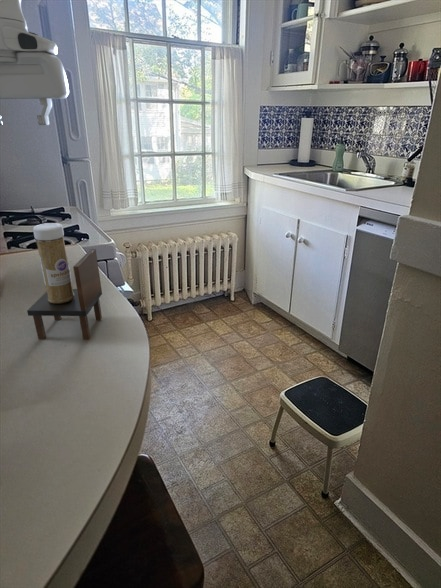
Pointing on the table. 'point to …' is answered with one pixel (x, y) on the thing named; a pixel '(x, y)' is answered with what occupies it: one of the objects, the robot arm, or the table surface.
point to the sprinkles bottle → (54, 262)
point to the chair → (81, 302)
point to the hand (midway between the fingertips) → (20, 125)
